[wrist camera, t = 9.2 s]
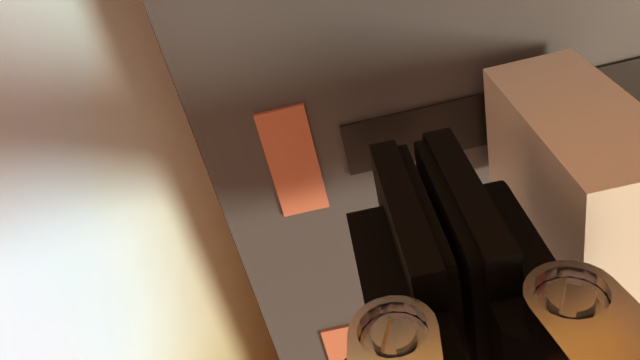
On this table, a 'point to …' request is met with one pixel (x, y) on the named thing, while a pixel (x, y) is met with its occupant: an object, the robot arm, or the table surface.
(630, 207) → the block
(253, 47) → the breaker panel
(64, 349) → the table surface
